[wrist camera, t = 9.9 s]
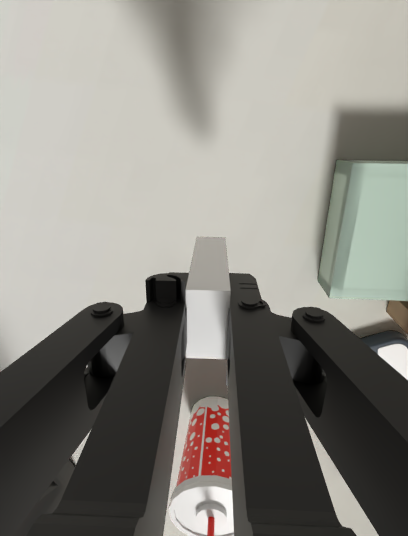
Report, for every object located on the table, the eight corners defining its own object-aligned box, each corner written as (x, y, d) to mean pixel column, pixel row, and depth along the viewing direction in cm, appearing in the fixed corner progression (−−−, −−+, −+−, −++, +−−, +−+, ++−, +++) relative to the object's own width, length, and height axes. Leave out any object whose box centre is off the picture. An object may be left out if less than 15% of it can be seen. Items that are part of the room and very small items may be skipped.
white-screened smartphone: (428, 451, 32) (401, 323, 27) (438, 467, 31) (411, 334, 25) (339, 470, 34) (296, 352, 28) (344, 485, 32) (300, 365, 27)
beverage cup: (194, 442, 33) (174, 642, 20) (174, 396, 30) (138, 586, 18) (253, 432, 32) (273, 636, 19) (237, 384, 30) (248, 576, 17)
